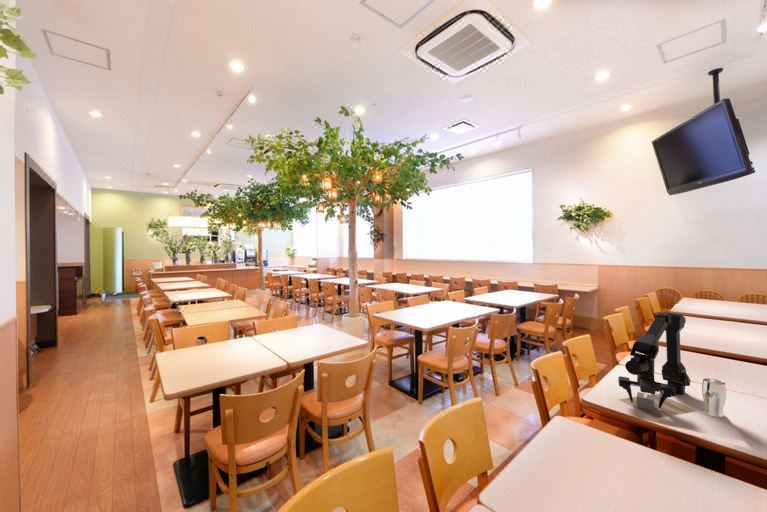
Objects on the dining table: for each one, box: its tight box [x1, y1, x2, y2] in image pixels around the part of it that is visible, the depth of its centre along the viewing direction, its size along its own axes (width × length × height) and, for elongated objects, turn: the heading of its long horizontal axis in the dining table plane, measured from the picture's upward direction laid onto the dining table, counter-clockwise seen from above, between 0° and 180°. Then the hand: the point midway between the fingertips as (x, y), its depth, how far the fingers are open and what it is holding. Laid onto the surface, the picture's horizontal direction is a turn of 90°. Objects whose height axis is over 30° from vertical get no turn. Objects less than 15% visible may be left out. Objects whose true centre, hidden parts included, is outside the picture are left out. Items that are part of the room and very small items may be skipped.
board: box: [618, 393, 697, 419], centre depth 138 cm, size 22×16×2 cm
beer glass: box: [701, 377, 727, 418], centre depth 130 cm, size 7×7×15 cm
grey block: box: [636, 391, 654, 411], centre depth 137 cm, size 6×6×5 cm
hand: (645, 405), depth 137 cm, fingers open, 9 cm apart
